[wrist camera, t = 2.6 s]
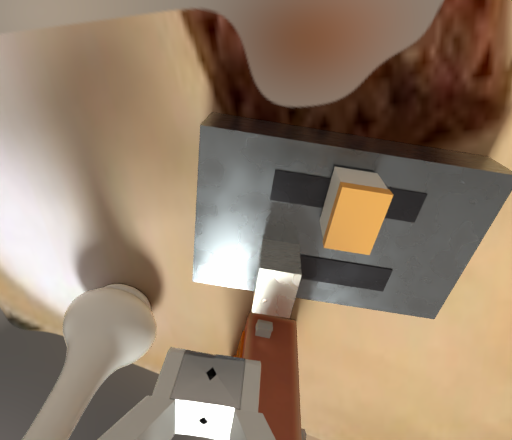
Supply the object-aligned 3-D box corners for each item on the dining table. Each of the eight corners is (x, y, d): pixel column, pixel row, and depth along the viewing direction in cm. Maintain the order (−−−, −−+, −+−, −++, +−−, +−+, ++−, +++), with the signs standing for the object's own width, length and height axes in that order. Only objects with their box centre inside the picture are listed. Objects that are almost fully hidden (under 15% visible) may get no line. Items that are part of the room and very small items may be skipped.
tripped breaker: (378, 172, 22) (393, 195, 19) (358, 227, 25) (369, 255, 22) (334, 165, 22) (342, 187, 19) (318, 221, 25) (323, 248, 22)
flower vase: (23, 252, 34) (-428, 636, 12) (197, 266, 33) (38, 700, 12) (56, 336, 41) (-201, 683, 19) (202, 350, 40) (106, 726, 18)
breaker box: (488, 156, 25) (561, 201, 19) (418, 288, 33) (453, 355, 26) (211, 112, 25) (185, 141, 19) (202, 254, 32) (180, 313, 26)
